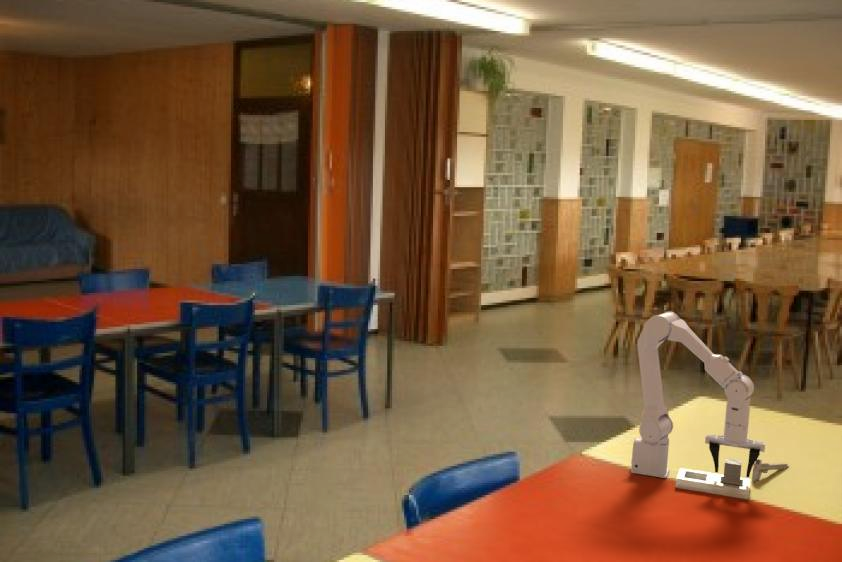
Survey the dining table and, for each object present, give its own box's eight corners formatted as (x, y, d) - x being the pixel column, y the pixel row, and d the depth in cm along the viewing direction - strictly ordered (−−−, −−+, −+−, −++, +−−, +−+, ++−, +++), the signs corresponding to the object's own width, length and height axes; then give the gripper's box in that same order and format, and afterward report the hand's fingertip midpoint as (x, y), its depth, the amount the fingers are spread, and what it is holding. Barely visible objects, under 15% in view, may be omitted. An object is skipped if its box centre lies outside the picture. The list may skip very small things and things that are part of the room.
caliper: (755, 483, 237) (757, 461, 236) (751, 482, 237) (753, 460, 237) (789, 467, 250) (791, 446, 250) (785, 466, 251) (787, 445, 250)
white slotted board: (675, 487, 231) (676, 478, 230) (679, 476, 239) (679, 467, 239) (748, 499, 224) (749, 490, 224) (749, 487, 232) (750, 478, 232)
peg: (722, 492, 228) (724, 462, 227) (723, 487, 232) (725, 458, 231) (738, 495, 227) (741, 465, 226) (739, 490, 231) (741, 460, 230)
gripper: (706, 422, 226) (701, 473, 228) (766, 431, 221) (761, 483, 223) (708, 416, 233) (703, 465, 235) (766, 424, 228) (762, 474, 229)
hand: (732, 473), depth 229 cm, fingers open, 7 cm apart
